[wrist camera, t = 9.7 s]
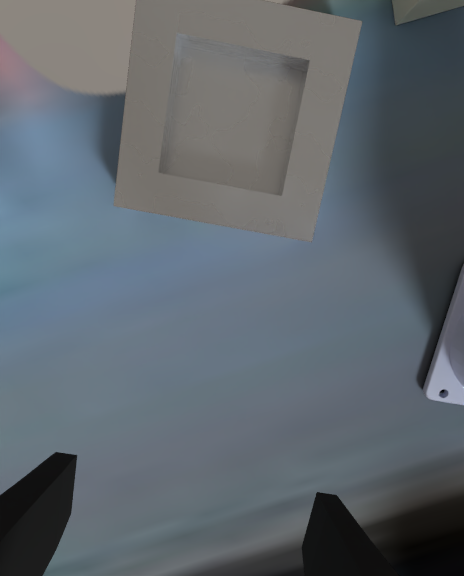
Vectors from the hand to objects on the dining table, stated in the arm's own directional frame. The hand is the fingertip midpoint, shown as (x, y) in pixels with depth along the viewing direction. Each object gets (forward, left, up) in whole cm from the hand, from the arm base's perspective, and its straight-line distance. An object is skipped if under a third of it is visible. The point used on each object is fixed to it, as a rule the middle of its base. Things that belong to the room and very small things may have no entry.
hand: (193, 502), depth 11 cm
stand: (+1, -12, -10) cm, 16 cm away
